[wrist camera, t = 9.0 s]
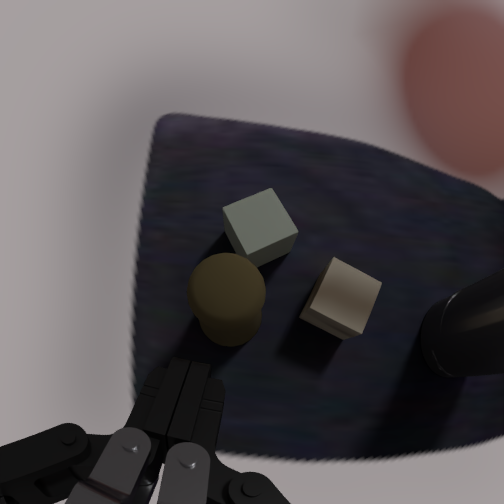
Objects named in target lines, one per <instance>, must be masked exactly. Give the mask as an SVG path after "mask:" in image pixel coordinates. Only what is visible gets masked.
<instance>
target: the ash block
mask: <svg viewBox="0 0 504 504" xmlns="http://www.w3.org/2000/svg"><path fill="white" fill-rule="evenodd" d="M381 284H382V283H381V282H379V281H378V280H376V279H374V278H372V277H370V276H368V275H366V274H365V273H363V272H361V271H359V270H357V269H355V268H353V267H351V266H350V265H348V264H346V263H344V262H342V261H340V260H338V259H336V258H334V257H333V259H332V260H331V261H330V262H329V264H328V265H327V266H326V267H325V269H324V270H323V271H322V272H321V273H320V275H319V277H318V279H317V281H316V284H315V286H314V288H313V290H312V292H311V294H310V296H309V298H308V300H307V302H306V304H305V306H304V308H303V310H302V312H301V314H300V316H299V318H301V319H303V320H305V321H307V322H309V323H311V324H313V325H315V326H317V327H319V328H321V329H323V330H325V331H327V332H328V333H330V334H332V335H334V336H336V337H338V338H340V339H342V340H344V339H347V338H351V337H354V336H357V335H360V334H362V332H363V330H364V327H365V325H366V323H367V320H368V318H369V315H370V313H371V310H372V308H373V305H374V303H375V300H376V297H377V295H378V292H379V289H380V287H381Z"/></svg>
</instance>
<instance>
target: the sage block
mask: <svg viewBox="0 0 504 504" xmlns="http://www.w3.org/2000/svg"><path fill="white" fill-rule="evenodd" d="M223 219H224V230H225V233H226V235H227V237H228V239H229V241H230V243H231V245H232V246H233V248H234V250H235V252H236V254H238V255H240V256H242V257H244V258H247V259H248V260H249V261H250V262H252V263H253V264H254V265H255V266H256V267H259V266H261V265H263V264H266V263H268V262H270V261H272V260H274V259H276V258H278V257H281V256H283V255H285V254H287V253H289V252H290V251H291V248H292V246H293V244H294V241H295V239H296V236H297V234H298V230H297V228H296V227H295V225H294V223H293V222H292V220H291V219H290V217H289V215H288V214H287V212H286V210H285V209H284V207H283V205H282V204H281V202H280V201H279V199H278V197H277V196H276V194H275V192H274V191H273V189H272V188H270V189H268V190H265V191H263V192H260V193H258V194H255V195H253V196H250V197H248V198H245V199H243V200H240V201H238V202H235V203H233V204H230V205H228V206H226V207H223Z"/></svg>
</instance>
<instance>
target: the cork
mask: <svg viewBox="0 0 504 504" xmlns="http://www.w3.org/2000/svg"><path fill="white" fill-rule="evenodd" d="M265 293H266V288H265V284H264V279H263V277H262V275H261V273H260V272H259V270H258V269H257V267H256V266H255V265H254V264H253V263H252V262H250V261H249V260H248V259H247V258H244V257H242V256H240V255H238V254H232V253H220V254H215V255H212V256H210V257H208V258H206V259H204V260H203V261H202V262H201V263H200V264H199V265H198V266H197V267H195V269H194V271H193V273H192V274H191V276H190V278H189V282H188V288H187V297H188V303H189V306H190V307H191V309H192V311H193V313H194V315H195V316H196V317H197V318H198V319H199V322H200V326H201V328H202V330H203V332H204V334H205V335H206V336H207V337H208V338H209V339H210V340H211V341H213V342H215V343H217V344H219V345H221V346H229V347H233V346H238V345H242V344H244V343H246V342H247V341H249V340H251V338H252V337H253V336H254V335H255V334H256V333H257V331H258V329H259V327H260V325H261V318H262V312H261V309H262V306H263V304H264V302H265Z"/></svg>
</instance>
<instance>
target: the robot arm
mask: <svg viewBox="0 0 504 504" xmlns="http://www.w3.org/2000/svg"><path fill="white" fill-rule="evenodd" d="M421 348H422V353H423V356H424V358H425V361H426V363H427V364H428V366H429V367H430V369H431V370H433V371H434V372H435V373H436V374H438V375H440V376H442V377H447V378H451V377H468V376H482V375H493V374H502V373H504V269H502V270H500V271H498V272H496V273H494V274H492V275H490V276H488V277H486V278H484V279H482V280H480V281H478V282H476V283H474V284H472V285H470V286H468V287H466V288H464V289H461V290H459V291H457V292H455V293H454V294H453V295H452V296H449V297H447V298H445V299H443V300H441V301H439V302H437V303H435V304H434V305H433V306H432V307H431V308H430V310H429V311H428V312H427V314H426V316H425V319H424V321H423V325H422V328H421ZM210 376H211V365H210V364H205V363H200V362H195V361H190V360H185V359H181V358H176V357H173V358H172V359H171V362H170V364H169V366H168V369H166V368H162V367H157V368H156V369H154V370H153V371H152V372H151V373H150V374H148V377H147V379H146V381H145V383H144V386H143V387H142V390H141V392H140V395H139V396H138V398H137V400H136V403H135V405H134V407H133V409H132V411H131V414H130V416H129V418H128V420H127V423H126V424H125V426H124V427H123V428H122V429H119V430H118V431H116V432H115V433H114V434H111V435H95V434H86V432H85V431H84V430H83V429H82V428H81V427H80V426H78V425H76V424H73V423H64V424H61V425H58V426H56V427H53V428H51V429H48V430H45V431H43V432H41V433H38V434H35V435H32V436H29V437H27V438H24V439H21V440H18V441H16V442H13V443H10V444H7V445H4V446H1V447H0V504H54V503H57V502H59V501H61V500H64V499H67V498H68V499H67V501H66V502H65V504H149V501H150V499H151V497H152V494H153V492H154V489H155V487H156V484H157V482H158V479H159V472H160V469H161V466H162V463H164V464H165V466H164V471H163V476H162V481H161V486H160V491H159V496H158V501H157V504H290V503H289V501H288V500H287V499H286V498H285V497H284V496H283V495H282V493H280V491H279V490H278V489H277V488H276V487H275V485H274V484H273V483H272V482H271V481H270V480H269V479H268V478H267V477H266V476H264V475H262V474H260V473H256V472H245V473H240V472H238V471H235V470H233V469H231V468H229V467H227V466H225V465H224V464H222V463H221V462H220V461H219V459H218V458H217V456H216V454H215V448H216V443H217V438H218V433H219V428H220V423H221V418H222V413H223V405H224V398H225V388H224V385H223V382H222V380H218V379H213V378H210Z"/></svg>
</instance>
